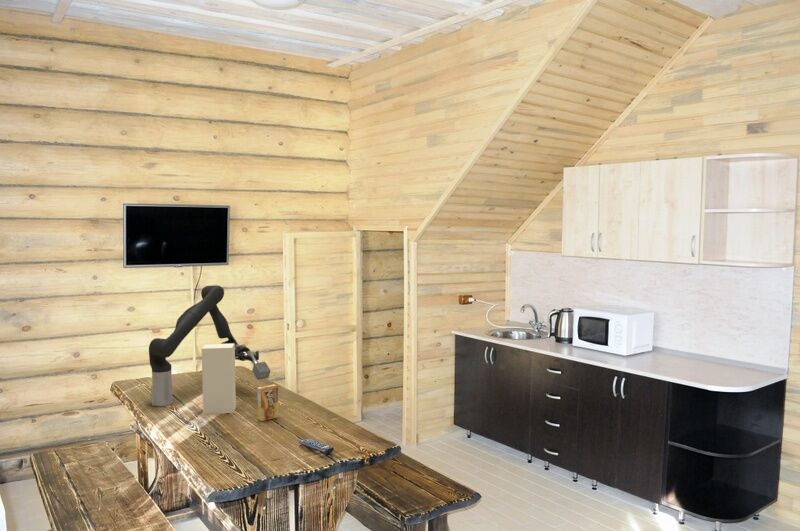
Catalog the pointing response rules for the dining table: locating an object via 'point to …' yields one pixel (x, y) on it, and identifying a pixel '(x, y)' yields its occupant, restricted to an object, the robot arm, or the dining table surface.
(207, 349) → the tall beige cuboid
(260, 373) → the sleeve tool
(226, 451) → the dining table surface
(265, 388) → the candy box
